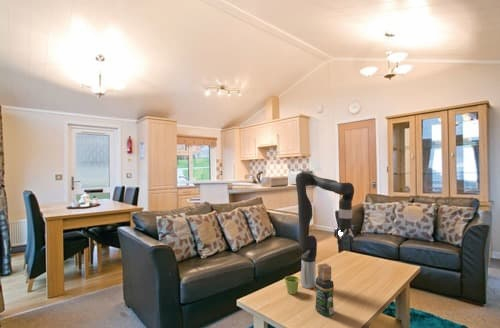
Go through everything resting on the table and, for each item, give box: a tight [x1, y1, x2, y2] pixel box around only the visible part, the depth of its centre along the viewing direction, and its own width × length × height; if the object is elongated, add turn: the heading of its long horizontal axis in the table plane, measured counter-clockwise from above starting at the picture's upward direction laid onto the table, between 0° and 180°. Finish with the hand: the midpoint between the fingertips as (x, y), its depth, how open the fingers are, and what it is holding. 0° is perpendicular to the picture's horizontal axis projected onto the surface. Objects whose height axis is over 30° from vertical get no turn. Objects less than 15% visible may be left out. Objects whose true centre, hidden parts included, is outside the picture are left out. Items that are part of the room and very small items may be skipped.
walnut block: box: [317, 263, 332, 281], centre depth 149 cm, size 5×5×7 cm
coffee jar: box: [315, 276, 335, 317], centre depth 149 cm, size 10×8×19 cm
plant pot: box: [284, 275, 301, 295], centre depth 171 cm, size 9×9×9 cm
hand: (345, 244), depth 159 cm, fingers open, 8 cm apart
